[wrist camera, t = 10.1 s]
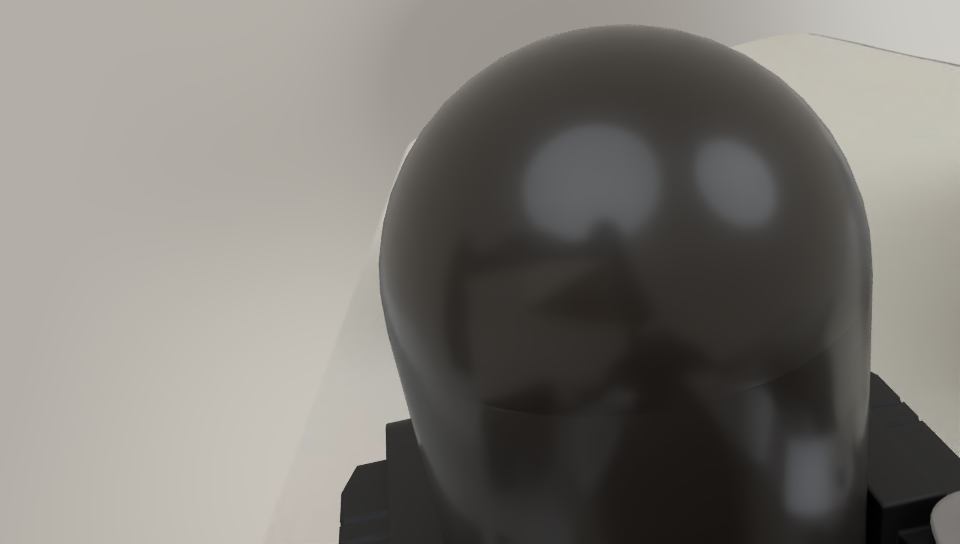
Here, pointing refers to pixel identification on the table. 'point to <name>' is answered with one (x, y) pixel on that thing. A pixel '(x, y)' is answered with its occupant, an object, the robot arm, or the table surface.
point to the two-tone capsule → (633, 301)
